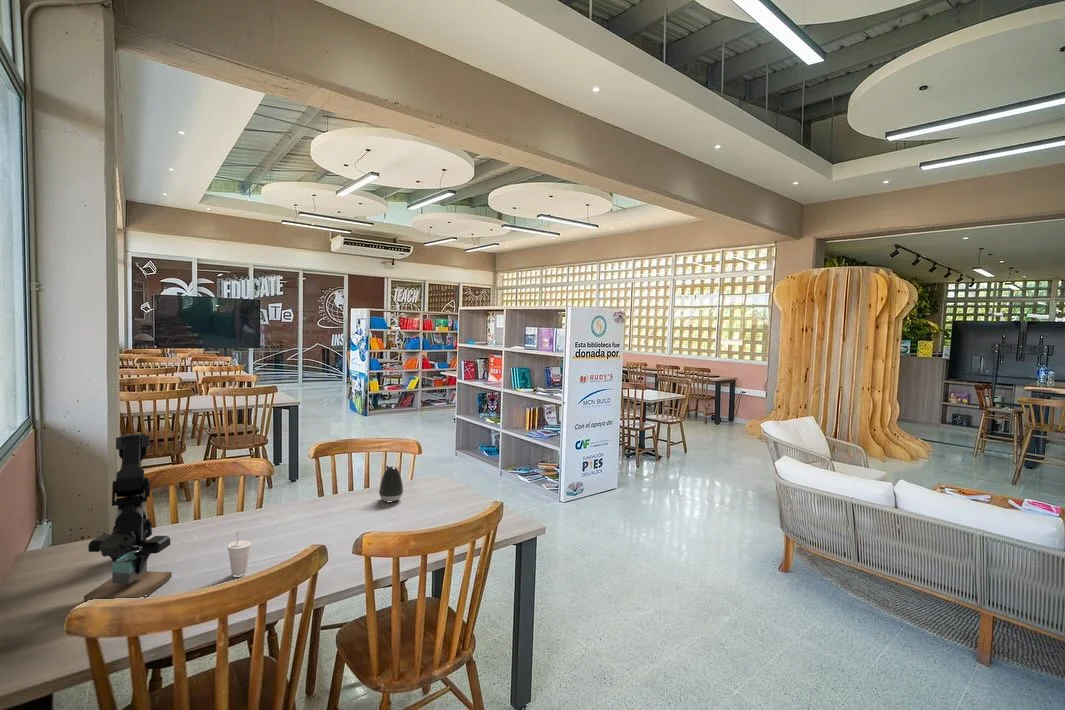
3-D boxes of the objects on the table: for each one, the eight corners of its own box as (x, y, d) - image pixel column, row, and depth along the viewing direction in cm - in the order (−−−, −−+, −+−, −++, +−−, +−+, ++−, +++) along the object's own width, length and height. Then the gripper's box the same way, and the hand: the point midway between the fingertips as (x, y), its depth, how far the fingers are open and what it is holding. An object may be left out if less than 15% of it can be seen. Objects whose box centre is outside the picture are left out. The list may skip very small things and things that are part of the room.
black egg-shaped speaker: (396, 495, 234) (397, 462, 233) (406, 501, 226) (408, 467, 225) (374, 499, 227) (375, 465, 226) (384, 506, 219) (385, 471, 218)
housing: (130, 571, 149) (130, 549, 148) (146, 571, 149) (146, 550, 148) (112, 583, 142) (112, 560, 141) (129, 583, 142) (129, 561, 142)
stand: (83, 603, 138) (83, 596, 138) (122, 577, 152) (122, 570, 152) (138, 604, 139) (138, 597, 139) (171, 578, 153) (171, 571, 153)
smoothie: (224, 574, 157) (225, 529, 156) (247, 567, 161) (248, 524, 161) (230, 582, 152) (230, 536, 152) (253, 575, 157) (254, 531, 156)
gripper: (71, 529, 136) (71, 587, 137) (144, 532, 137) (144, 588, 138) (103, 513, 147) (104, 566, 148) (171, 516, 148) (171, 568, 149)
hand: (130, 572), depth 145 cm, fingers closed on housing, 4 cm apart
